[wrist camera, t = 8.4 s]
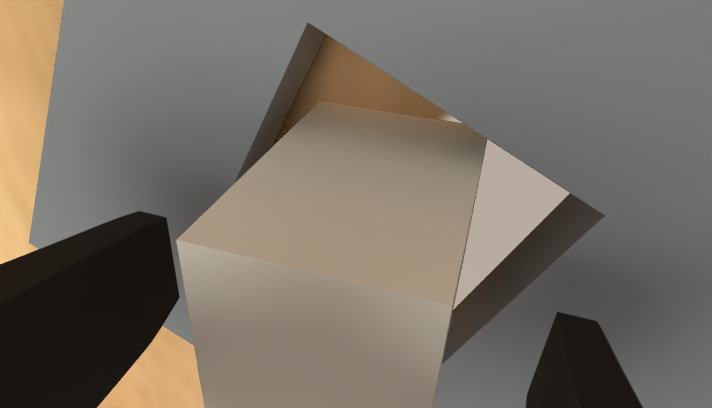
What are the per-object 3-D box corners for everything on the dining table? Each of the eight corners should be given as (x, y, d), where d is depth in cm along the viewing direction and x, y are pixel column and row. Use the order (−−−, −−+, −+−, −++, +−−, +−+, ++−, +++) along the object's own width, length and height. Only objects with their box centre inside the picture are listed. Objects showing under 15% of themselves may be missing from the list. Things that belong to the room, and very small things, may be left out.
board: (970, 160, 9) (1064, 219, 8) (491, 466, 17) (486, 527, 16) (202, -355, 9) (124, -412, 7) (78, 208, 17) (28, 242, 15)
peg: (489, 127, 12) (451, 305, 7) (461, 267, 14) (417, 481, 9) (320, 100, 12) (176, 239, 7) (318, 236, 15) (206, 414, 10)
